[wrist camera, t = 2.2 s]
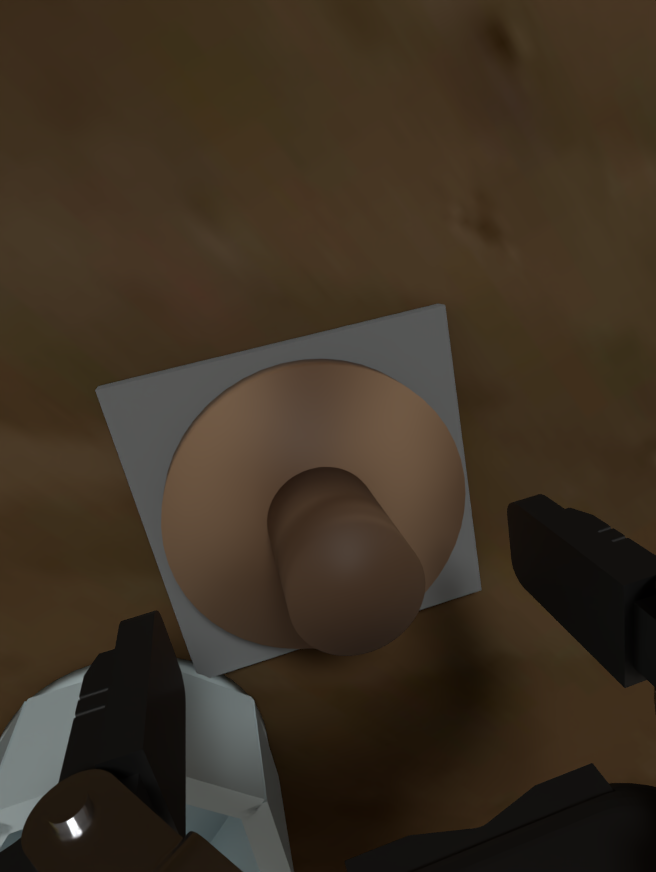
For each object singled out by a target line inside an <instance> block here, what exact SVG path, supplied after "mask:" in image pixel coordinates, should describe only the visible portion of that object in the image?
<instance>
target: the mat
mask: <svg viewBox="0 0 656 872" xmlns="http://www.w3.org/2000/svg"><path fill="white" fill-rule="evenodd" d="M305 359H334V360H344V361H348V362H353V363H357V364H362V365H364V366H367V367H370V368H372V369H375V370H378V371H380V372H382V373H384V374H386V375H388V376H389V377H391V378H393V379H395V380H397V381H398V382H400V383H401V384H403V385H404V386H406V387H407V388H409V389H410V390H412V391H413V392H414V393H416V394H417V395H418V396H420V397H421V398H422V399H423V400H424V401H425V402H426V403H427V404H428V405H429V406H430V407H431V408H432V409H433V410H434V411H435V412H436V413H437V414H438V416H439V417H440V418H441V420H442V421H443V422H444V424H445V425H446V426H447V428H448V430H449V432H450V434H451V436H452V438H453V440H454V441H455V444H456V447H457V449H458V452H459V455H460V458H461V462H462V467H463V472H464V477H465V493H466V494H465V509H464V515H463V520H462V525H461V529H460V532H459V535H458V538H457V541H456V544H455V547H454V549H453V551H452V553H451V555H450V557H449V559H448V561H447V563H446V565H445V566H444V568H443V570H442V571H441V573H440V574H439V576H438V577H437V579H436V580H435V581H434V582H433V584H432V585H431V586H430V587H429V589H428V590H427V591H426V592H425V594H424V599H423V602H422V605H421V607H420V610H421V609H425V608H428V607H431V606H434V605H437V604H440V603H443V602H446V601H449V600H452V599H455V598H458V597H462V596H465V595H468V594H471V593H474V592H477V591H480V590H481V582H480V575H479V567H478V559H477V551H476V543H475V535H474V528H473V520H472V512H471V504H470V496H469V488H468V481H467V473H466V465H465V457H464V449H463V442H462V434H461V426H460V418H459V410H458V402H457V395H456V387H455V379H454V371H453V363H452V355H451V348H450V340H449V332H448V324H447V316H446V308H445V305H442V304H435V305H431V306H426V307H422V308H418V309H414V310H410V311H406V312H402V313H398V314H394V315H389V316H385V317H381V318H377V319H373V320H369V321H365V322H361V323H357V324H352V325H348V326H344V327H340V328H336V329H332V330H328V331H324V332H319V333H315V334H311V335H307V336H303V337H299V338H295V339H291V340H287V341H282V342H278V343H274V344H270V345H266V346H262V347H258V348H254V349H249V350H245V351H241V352H237V353H233V354H229V355H225V356H221V357H217V358H212V359H208V360H204V361H200V362H196V363H192V364H188V365H184V366H179V367H175V368H171V369H167V370H163V371H159V372H155V373H151V374H147V375H142V376H138V377H134V378H130V379H126V380H122V381H118V382H114V383H109V384H105V385H101V386H98V387H97V389H96V390H95V391H96V394H97V397H98V399H99V402H100V405H101V408H102V411H103V413H104V416H105V419H106V422H107V425H108V427H109V430H110V433H111V436H112V439H113V441H114V444H115V447H116V450H117V453H118V455H119V458H120V461H121V464H122V467H123V469H124V472H125V475H126V478H127V480H128V483H129V486H130V489H131V492H132V494H133V497H134V500H135V503H136V506H137V508H138V511H139V514H140V517H141V520H142V522H143V525H144V528H145V531H146V534H147V536H148V539H149V542H150V545H151V548H152V550H153V553H154V556H155V559H156V562H157V564H158V567H159V570H160V573H161V576H162V578H163V581H164V584H165V587H166V590H167V592H168V595H169V598H170V601H171V603H172V606H173V609H174V612H175V615H176V617H177V620H178V623H179V626H180V629H181V631H182V634H183V637H184V640H185V643H186V645H187V648H188V651H189V654H190V657H191V659H192V662H193V665H194V668H195V671H196V673H197V674H201V675H204V676H206V677H208V678H212V677H215V676H218V675H221V674H224V673H227V672H230V671H233V670H236V669H239V668H242V667H246V666H249V665H252V664H255V663H258V662H261V661H264V660H267V659H270V658H273V657H276V656H279V655H283V654H286V653H289V652H292V651H295V650H298V649H287V648H276V647H271V646H266V645H260V644H257V643H254V642H251V641H248V640H245V639H242V638H240V637H238V636H236V635H233V634H231V633H229V632H227V631H225V630H224V629H222V628H221V627H219V626H218V625H216V624H214V623H213V622H211V621H210V620H209V619H208V618H207V617H205V616H204V615H203V614H202V613H201V612H200V611H198V610H197V608H196V607H195V606H194V605H193V604H192V603H191V602H190V600H189V599H188V598H187V597H186V596H185V594H184V593H183V591H182V590H181V588H180V586H179V585H178V583H177V582H176V580H175V578H174V576H173V573H172V571H171V569H170V567H169V564H168V561H167V557H166V554H165V550H164V546H163V539H162V530H161V513H162V501H163V493H164V488H165V482H166V477H167V472H168V469H169V466H170V463H171V460H172V457H173V454H174V452H175V450H176V448H177V446H178V444H179V442H180V440H181V438H182V437H183V435H184V434H185V432H186V431H187V429H188V428H189V426H190V425H191V423H192V422H193V421H194V419H195V418H196V417H197V416H198V415H199V414H200V413H201V412H202V410H203V409H204V408H205V407H206V406H207V405H208V404H209V403H210V402H211V401H213V400H214V399H215V398H216V397H217V396H218V395H220V394H221V393H222V392H223V391H224V390H226V389H227V388H229V387H231V386H232V385H234V384H235V383H237V382H238V381H240V380H241V379H243V378H245V377H248V376H250V375H252V374H254V373H256V372H258V371H260V370H263V369H266V368H269V367H272V366H275V365H278V364H281V363H287V362H292V361H297V360H305Z"/></svg>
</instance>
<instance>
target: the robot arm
mask: <svg viewBox="0 0 656 872" xmlns="http://www.w3.org/2000/svg"><path fill="white" fill-rule="evenodd" d="M507 516H508V527H509V538H510V549H511V559H512V565H513V569H514V571H515V574H516V576H517V578H518V580H519V582H520V583H521V585H522V586H523V587H524V588H525V589H526V590H527V591H528V592H529V593H530V594H531V595H532V596H533V597H534V598H535V599H536V600H537V601H538V602H539V603H540V604H541V605H542V606H543V607H544V608H545V609H546V610H547V611H548V612H549V613H550V614H551V615H552V616H553V617H554V618H555V619H556V620H557V621H558V622H559V623H560V624H561V625H562V626H563V627H564V628H565V629H566V630H567V631H568V632H569V633H570V634H571V635H572V636H573V637H574V638H575V639H576V640H577V641H578V642H579V643H580V644H581V645H582V646H583V647H584V648H585V649H586V650H587V651H588V652H589V653H590V654H591V655H592V656H593V657H594V658H595V659H596V660H597V661H598V662H599V663H600V664H601V665H602V666H603V667H604V668H605V669H606V670H607V671H608V672H609V673H610V674H611V675H612V676H613V677H614V678H615V679H616V680H617V681H618V682H619V683H620V684H621V685H622V686H623V687H624V688H626V687H629V686H632V685H634V684H637V683H639V682H642V681H645V680H648V681H649V682H650V683H651V684H652V685H653V686H654V704H655V713H656V555H654V554H652V553H651V552H649V551H648V550H646V549H645V548H643V547H642V546H640V545H639V544H637V543H635V542H634V541H632V540H631V539H629V538H625V535H623V534H621V533H620V532H618V531H617V530H615V529H614V528H613V529H611V528H610V526H609V525H608V524H606V523H604V522H603V521H601V520H600V519H598V518H597V517H595V516H594V515H591V514H588V513H585V512H582V511H579V510H575V509H572V508H567V509H564V508H562V507H561V506H560V505H558V504H557V503H555V502H554V501H552V500H551V499H549V498H548V497H546V496H545V495H542V494H539V495H535V496H532V497H529V498H526V499H522V500H519V501H516V502H512V503H510V504H509V506H508V509H507ZM79 698H80V700H78V703H77V707H76V711H75V718H74V719H73V723H72V728H71V732H70V736H69V740H68V744H67V748H66V753H65V757H64V761H63V765H62V769H61V774H60V778H59V782H58V784H57V785H55V786H54V787H53V788H52V789H50V790H49V791H48V792H47V793H46V794H45V795H44V796H43V797H42V798H41V799H40V800H39V801H38V803H37V804H36V805H35V807H34V808H33V809H32V811H31V812H30V814H29V816H28V818H27V820H26V822H25V824H24V827H23V831H22V835H21V838H19V839H18V840H17V841H16V842H15V843H13V844H12V845H10V846H9V847H7V848H6V849H4V850H3V851H1V852H0V872H243V871H242V870H240V869H239V868H238V867H237V866H236V865H235V864H233V863H232V862H231V861H230V860H229V859H228V858H227V857H225V856H224V855H223V854H222V853H221V852H220V851H219V850H217V849H216V848H215V847H214V846H213V845H212V844H210V843H209V842H208V841H207V840H206V839H205V838H203V837H202V836H201V835H199V834H198V833H196V832H194V831H189V832H188V833H187V835H186V695H185V687H184V681H183V677H182V673H181V669H180V666H179V664H178V661H177V658H176V655H175V653H174V650H173V647H172V644H171V642H170V639H169V636H168V633H167V631H166V628H165V625H164V622H163V620H162V617H161V615H160V613H159V612H158V611H153V612H150V613H146V614H143V615H140V616H137V617H133V618H130V619H127V620H123V621H121V622H120V625H119V629H118V635H117V641H116V646H115V649H113V650H110V651H107V652H104V653H100V654H99V655H98V656H97V657H96V659H95V660H94V662H93V663H92V665H91V666H90V667H89V669H88V670H87V672H86V673H85V675H84V678H83V682H82V686H81V690H80V694H79ZM345 865H346V868H347V872H656V787H653V786H649V785H641V784H633V783H610V784H608V782H607V781H606V780H605V779H604V777H603V776H602V775H601V773H600V772H599V771H598V770H597V768H596V767H595V766H594V765H593V763H591V764H589V765H586V766H584V767H581V768H579V769H576V770H573V771H571V772H568V773H566V774H563V775H561V776H558V777H556V778H553V779H551V780H548V781H546V782H543V783H541V784H538V785H536V786H534V787H533V788H531V789H530V790H529V791H528V792H526V793H525V794H524V795H523V796H521V797H520V798H519V799H517V800H516V801H515V802H514V803H512V804H511V805H510V806H509V807H507V808H506V809H505V810H504V811H502V812H501V813H500V814H499V815H497V816H496V817H495V818H493V819H492V820H491V821H490V822H488V823H487V824H486V825H484V826H482V827H479V828H474V829H465V830H456V831H446V832H437V833H428V834H419V835H410V836H407V837H404V838H402V839H399V840H396V841H394V842H391V843H389V844H386V845H384V846H381V847H379V848H376V849H374V850H371V851H369V852H366V853H364V854H361V855H359V856H356V857H354V858H351V859H348V860H346V861H345Z"/></svg>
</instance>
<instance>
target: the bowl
mask: <svg viewBox="0 0 656 872" xmlns="http://www.w3.org/2000/svg"><path fill="white" fill-rule="evenodd" d="M177 661H178V664H179V666H180V669H181V673H182V677H183V681H184V687H185V695H186V835H187V833H188V832H189V831H194V832H196V833H198V834H199V835H201V836H202V837H203V838H205V839H206V840H207V841H208V842H209V843H210V844H212V845H213V846H214V847H215V848H216V849H217V850H219V851H220V852H221V853H222V854H223V855H224V856H225V857H227V858H228V859H229V860H230V861H231V862H232V863H233V864H235V865H236V866H237V867H238V868H239V869H240V870H242V871H243V872H294V870H293V864H292V857H291V851H290V845H289V839H288V832H287V826H286V820H285V813H284V807H283V801H282V795H281V788H280V782H279V776H278V773H277V770H276V767H275V764H274V760H273V757H272V754H271V751H270V748H269V745H268V738H267V733H266V728H265V724H264V721H263V719H262V716H261V714H260V712H259V710H258V708H257V707H256V704H255V701H254V699H253V700H252V697H251V696H248V694H247V693H246V692H245V691H244V690H243V689H242V688H241V687H240V686H238V685H237V684H236V683H235V682H234V681H232V680H231V679H229V678H228V677H226V676H225V675H223V674H221V675H218V676H215V677H212V678H208V677H206V676H204V675H201V674H197V673H196V671H195V668H194V665H193V662H192V661H188V660H184V659H178V658H177ZM90 666H91V665H89V666H86V667H84V668H81V669H78V670H76V671H73V672H71V673H69V674H67V675H65V676H63V677H61V678H59V679H57V680H56V681H54V682H52V683H51V684H49V685H48V686H46V687H45V688H43V689H42V690H40V691H39V692H38V693H37V694H35V695H34V696H33V697H32V698H29V699H28V700H27V702H26V701H25V702H24V703H23V705H22V707H21V708H20V709H19V710H18V712H17V713H16V714H15V715H14V716H13V718H12V719H11V720H10V722H9V723H8V725H7V726H6V728H5V729H4V731H3V733H2V735H1V737H0V852H1V851H3V850H4V849H6V848H7V847H9V846H10V845H12V844H13V843H15V842H16V841H17V840H18V839H19V838H21V835H22V831H23V827H24V824H25V822H26V820H27V818H28V816H29V814H30V812H31V811H32V809H33V808H34V807H35V805H36V804H37V803H38V801H39V800H40V799H41V798H42V797H43V796H44V795H45V794H46V793H47V792H48V791H49V790H50V789H52V788H53V787H54V786H55V785H57V784H58V782H59V778H60V774H61V769H62V765H63V761H64V757H65V753H66V748H67V744H68V740H69V736H70V732H71V728H72V723H73V719H74V718H75V711H76V707H77V703H78V700H80V698H79V694H80V690H81V686H82V682H83V678H84V675H85V673H86V672H87V670H88V669H89V667H90Z"/></svg>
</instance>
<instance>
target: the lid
mask: <svg viewBox="0 0 656 872" xmlns="http://www.w3.org/2000/svg"><path fill="white" fill-rule="evenodd" d="M465 494H466V493H465V477H464V472H463V467H462V462H461V458H460V455H459V452H458V449H457V447H456V444H455V441H454V440H453V438H452V436H451V434H450V432H449V430H448V428H447V426H446V425H445V424H444V422H443V421H442V420H441V418H440V417H439V416H438V414H437V413H436V412H435V411H434V410H433V409H432V408H431V407H430V406H429V405H428V404H427V403H426V402H425V401H424V400H423V399H422V398H421V397H420V396H418V395H417V394H416V393H414V392H413V391H412V390H410V389H409V388H407V387H406V386H404V385H403V384H401V383H400V382H398V381H397V380H395V379H393V378H391V377H389V376H388V375H386V374H384V373H382V372H380V371H378V370H375V369H372V368H370V367H367V366H364V365H362V364H357V363H353V362H348V361H344V360H334V359H305V360H297V361H292V362H287V363H281V364H278V365H275V366H272V367H269V368H266V369H263V370H260V371H258V372H256V373H254V374H252V375H250V376H248V377H245V378H243V379H241V380H240V381H238V382H237V383H235V384H234V385H232V386H231V387H229V388H227V389H226V390H224V391H223V392H222V393H221V394H220V395H218V396H217V397H216V398H215V399H214V400H213V401H211V402H210V403H209V404H208V405H207V406H206V407H205V408H204V409H203V410H202V412H201V413H200V414H199V415H198V416H197V417H196V418H195V419H194V421H193V422H192V423H191V425H190V426H189V428H188V429H187V431H186V432H185V434H184V435H183V437H182V438H181V440H180V442H179V444H178V446H177V448H176V450H175V452H174V454H173V457H172V460H171V463H170V466H169V469H168V472H167V477H166V482H165V488H164V493H163V501H162V513H161V530H162V539H163V546H164V550H165V554H166V557H167V561H168V564H169V567H170V569H171V571H172V573H173V576H174V578H175V580H176V582H177V583H178V585H179V586H180V588H181V590H182V591H183V593H184V594H185V596H186V597H187V598H188V599H189V600H190V602H191V603H192V604H193V605H194V606H195V607H196V608H197V610H198V611H200V612H201V613H202V614H203V615H204V616H205V617H207V618H208V619H209V620H210V621H211V622H213V623H214V624H216V625H218V626H219V627H221V628H222V629H224V630H225V631H227V632H229V633H231V634H233V635H236V636H238V637H240V638H242V639H245V640H248V641H251V642H254V643H257V644H260V645H266V646H271V647H276V648H287V649H310V648H315V649H318V650H320V651H322V652H325V653H328V654H333V655H340V656H352V655H360V654H364V653H368V652H372V651H374V650H377V649H379V648H381V647H383V646H385V645H387V644H389V643H390V642H392V641H393V640H395V639H396V638H397V637H398V636H400V635H401V634H402V633H403V632H404V631H405V630H406V629H407V628H408V627H409V625H410V624H411V623H412V622H413V620H414V619H415V617H416V615H417V614H418V612H419V610H420V607H421V605H422V602H423V599H424V594H425V592H426V591H427V590H428V589H429V587H430V586H431V585H432V584H433V582H434V581H435V580H436V579H437V577H438V576H439V574H440V573H441V571H442V570H443V568H444V566H445V565H446V563H447V561H448V559H449V557H450V555H451V553H452V551H453V549H454V547H455V544H456V541H457V538H458V535H459V532H460V529H461V525H462V520H463V515H464V509H465Z"/></svg>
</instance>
